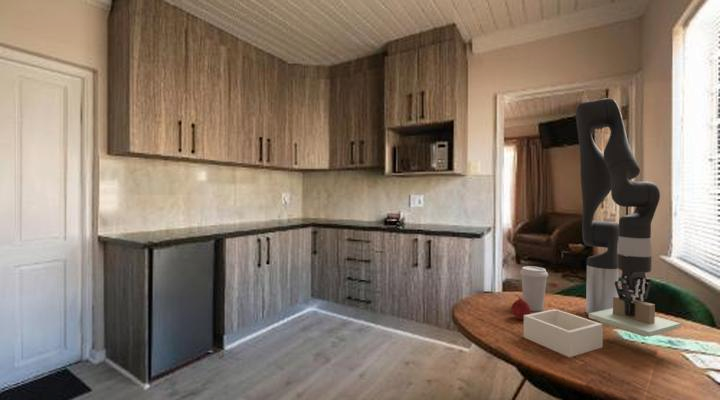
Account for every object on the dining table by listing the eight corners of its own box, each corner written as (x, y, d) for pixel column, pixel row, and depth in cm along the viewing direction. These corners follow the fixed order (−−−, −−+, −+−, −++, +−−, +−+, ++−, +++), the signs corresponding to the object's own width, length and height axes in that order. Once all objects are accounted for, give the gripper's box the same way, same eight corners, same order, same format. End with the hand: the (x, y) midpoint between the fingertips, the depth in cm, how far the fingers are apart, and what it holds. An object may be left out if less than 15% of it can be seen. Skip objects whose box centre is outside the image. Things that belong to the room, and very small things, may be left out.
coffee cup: (553, 312, 126) (553, 271, 125) (526, 312, 126) (526, 271, 126) (539, 304, 135) (540, 265, 135) (515, 304, 135) (515, 265, 135)
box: (555, 331, 109) (555, 308, 109) (602, 349, 96) (602, 324, 96) (523, 339, 103) (523, 315, 103) (569, 359, 90) (569, 332, 90)
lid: (619, 314, 107) (619, 290, 107) (680, 331, 93) (681, 304, 93) (588, 320, 101) (588, 296, 101) (649, 340, 87) (649, 312, 87)
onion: (532, 324, 114) (532, 300, 114) (513, 323, 116) (514, 299, 115) (527, 318, 120) (527, 295, 120) (509, 316, 121) (510, 294, 121)
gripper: (633, 249, 103) (632, 308, 103) (604, 252, 97) (603, 314, 98) (663, 253, 96) (662, 316, 97) (634, 257, 91) (633, 323, 91)
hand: (632, 314), depth 97 cm, fingers closed on lid, 2 cm apart
